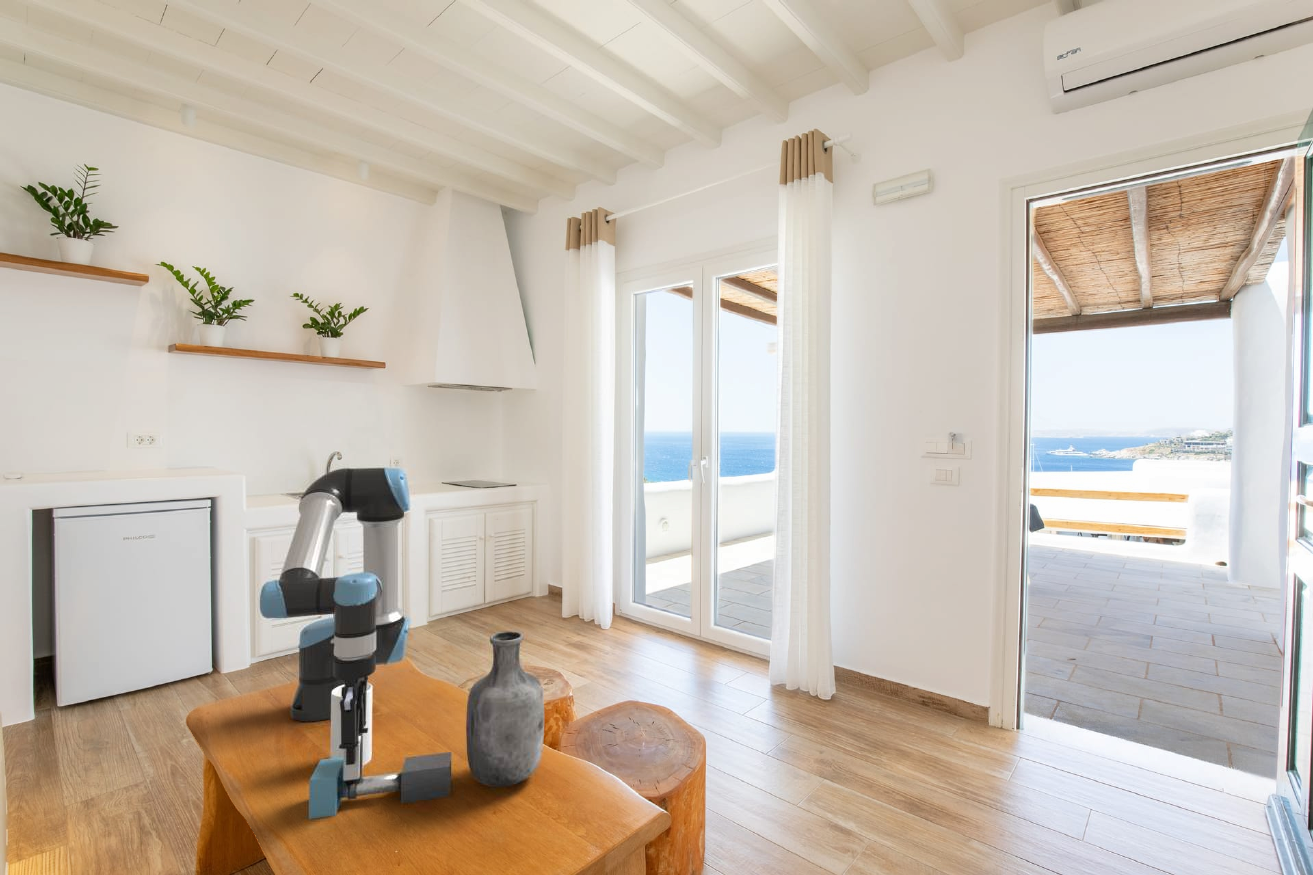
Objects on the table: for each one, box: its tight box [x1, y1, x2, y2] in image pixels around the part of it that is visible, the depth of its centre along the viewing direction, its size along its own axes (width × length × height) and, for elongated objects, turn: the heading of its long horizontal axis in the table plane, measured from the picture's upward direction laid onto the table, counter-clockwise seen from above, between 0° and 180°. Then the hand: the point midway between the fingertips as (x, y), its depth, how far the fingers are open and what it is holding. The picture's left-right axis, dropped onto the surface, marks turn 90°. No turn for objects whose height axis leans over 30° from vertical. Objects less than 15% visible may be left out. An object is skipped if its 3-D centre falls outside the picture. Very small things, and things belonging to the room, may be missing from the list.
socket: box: [308, 757, 344, 820], centre depth 118 cm, size 4×8×7 cm, turn 15°
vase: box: [465, 631, 545, 788], centre depth 128 cm, size 16×16×30 cm
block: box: [400, 751, 452, 804], centre depth 123 cm, size 9×6×6 cm, turn 105°
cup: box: [329, 682, 373, 767], centre depth 135 cm, size 8×8×16 cm
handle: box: [337, 732, 402, 800], centre depth 120 cm, size 17×4×12 cm, turn 105°
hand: (353, 773), depth 119 cm, fingers closed on handle, 3 cm apart
